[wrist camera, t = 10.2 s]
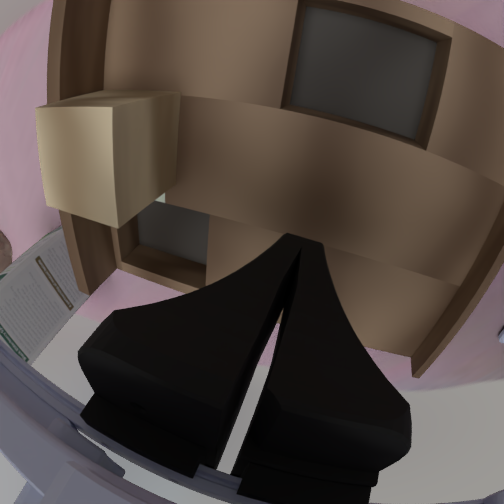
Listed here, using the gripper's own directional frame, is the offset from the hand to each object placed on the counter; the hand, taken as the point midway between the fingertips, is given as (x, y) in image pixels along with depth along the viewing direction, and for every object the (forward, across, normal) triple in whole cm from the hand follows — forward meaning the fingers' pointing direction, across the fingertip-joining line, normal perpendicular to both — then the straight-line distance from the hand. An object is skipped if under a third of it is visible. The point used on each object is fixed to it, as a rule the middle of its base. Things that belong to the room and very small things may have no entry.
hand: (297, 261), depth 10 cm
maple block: (+3, +9, -2) cm, 10 cm away
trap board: (+6, +2, -2) cm, 6 cm away
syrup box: (+6, +18, +10) cm, 21 cm away
